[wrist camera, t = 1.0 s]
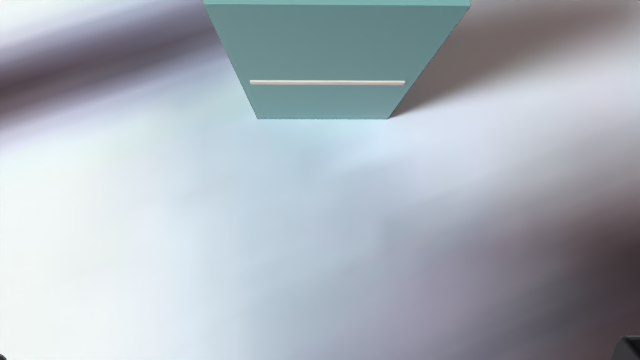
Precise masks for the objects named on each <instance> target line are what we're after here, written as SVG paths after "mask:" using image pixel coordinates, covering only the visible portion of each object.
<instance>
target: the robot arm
mask: <svg viewBox="0 0 640 360" xmlns="http://www.w3.org/2000/svg"><path fill="white" fill-rule="evenodd" d="M0 360H6V358H5V357H4V356H3V355H2V354H0ZM610 360H640V335H629V336H621V337H620V338H619V339H618V340H617V341H616V343H615V346H614V349H613V351H612V354H611V357H610Z"/></svg>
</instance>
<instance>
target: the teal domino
mask: <svg viewBox="0 0 640 360" xmlns="http://www.w3.org/2000/svg"><path fill="white" fill-rule="evenodd" d="M203 4H204V6H205V9H206V11H207V13H208V15H209V17H210V19H211V21H212V23H213V25H214V28H215V30H216V32H217V34H218V36H219V38H220V40H221V42H222V45H223V47H224V49H225V51H226V53H227V55H228V57H229V59H230V62H231V64H232V66H233V68H234V70H235V72H236V74H237V76H238V78H239V81H240V83H241V85H242V87H243V89H244V91H245V93H246V95H247V98H248V100H249V102H250V104H251V106H252V108H253V110H254V112H255V115H256V117H257V119H388V118H389V116H390V115H391V114H392V112H393V111H394V109H395V108H396V107H397V105H398V104H399V103H400V101H401V100H402V99H403V97H404V96H405V94H406V93H407V92H408V90H409V89H410V88H411V86H412V85H413V84H414V82H415V81H416V79H417V78H418V77H419V75H420V74H421V73H422V71H423V70H424V69H425V67H426V66H427V64H428V63H429V62H430V60H431V59H432V58H433V56H434V55H435V54H436V52H437V51H438V50H439V48H440V47H441V45H442V44H443V43H444V41H445V40H446V39H447V37H448V36H449V35H450V33H451V32H452V30H453V29H454V28H455V26H456V25H457V24H458V22H459V21H460V20H461V18H462V17H463V15H464V14H465V13H466V11H467V10H468V9H469V7H470V6H471V1H470V0H203Z"/></svg>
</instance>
